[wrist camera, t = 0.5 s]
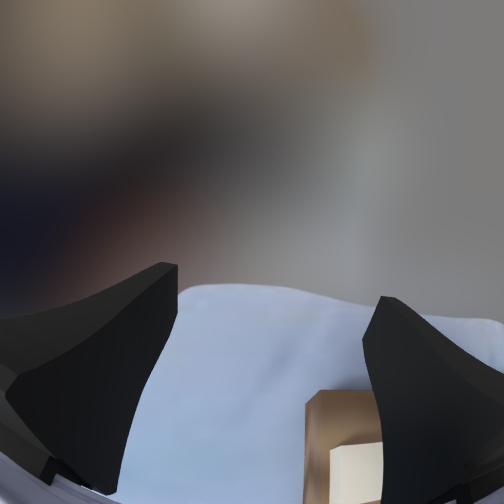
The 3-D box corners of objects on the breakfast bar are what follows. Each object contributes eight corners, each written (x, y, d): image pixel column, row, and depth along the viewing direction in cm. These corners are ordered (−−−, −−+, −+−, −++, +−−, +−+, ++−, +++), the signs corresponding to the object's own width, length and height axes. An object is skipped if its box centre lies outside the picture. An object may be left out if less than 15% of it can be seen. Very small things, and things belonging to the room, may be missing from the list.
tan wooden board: (427, 524, 12) (453, 521, 10) (298, 555, 12) (315, 564, 9) (418, 400, 24) (439, 385, 22) (305, 404, 24) (320, 389, 21)
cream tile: (385, 496, 14) (399, 494, 12) (329, 506, 13) (340, 506, 12) (383, 445, 17) (396, 439, 16) (329, 450, 17) (341, 445, 16)
